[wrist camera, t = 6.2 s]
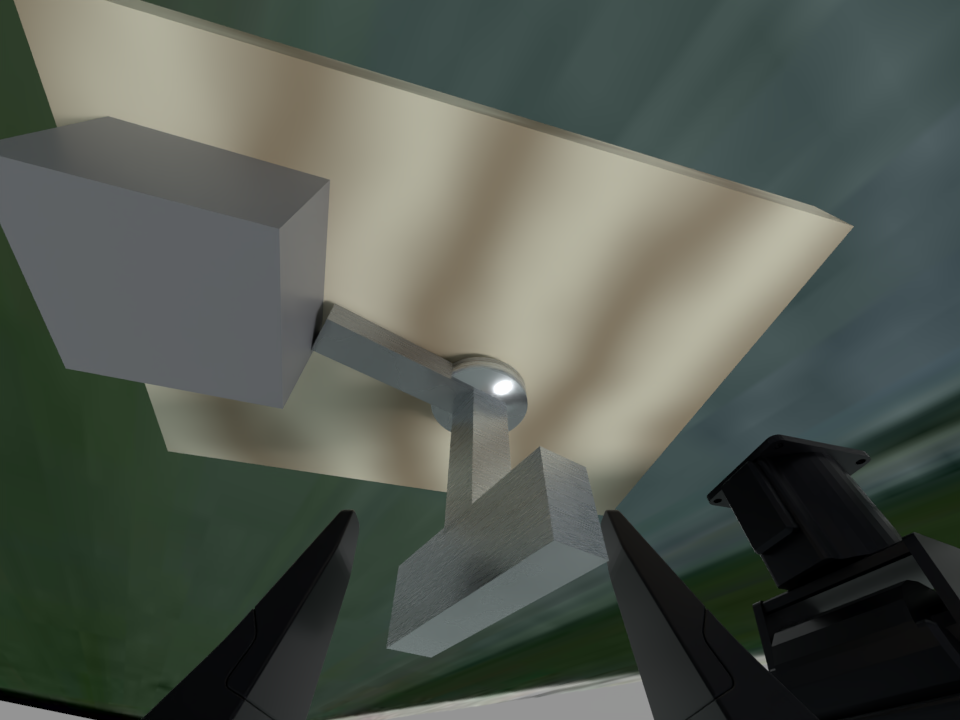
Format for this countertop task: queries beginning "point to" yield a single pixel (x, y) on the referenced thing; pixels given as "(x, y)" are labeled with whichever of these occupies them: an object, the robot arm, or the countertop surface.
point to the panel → (452, 249)
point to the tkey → (475, 494)
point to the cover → (168, 257)
